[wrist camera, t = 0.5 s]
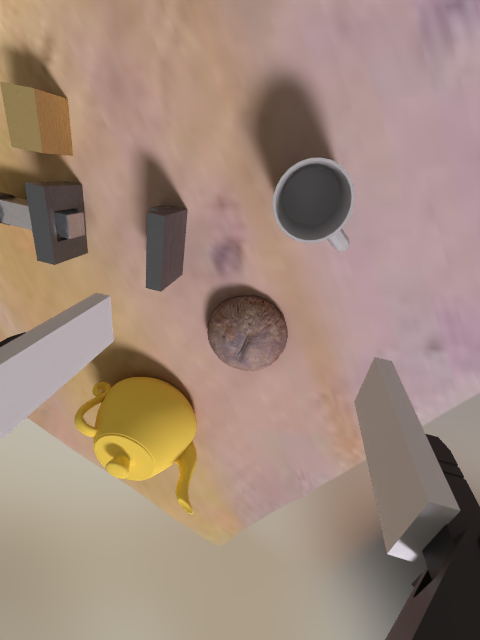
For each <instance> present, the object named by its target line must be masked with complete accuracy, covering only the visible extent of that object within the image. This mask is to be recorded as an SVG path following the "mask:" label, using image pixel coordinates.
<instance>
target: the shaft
mask: <svg viewBox="0 0 480 640" xmlns="http://www.w3.org/2000/svg"><path fill="white" fill-rule="evenodd" d="M54 218H55V225H56V233H57V236H60V237H64V238H68V239H72V238H75V237H79V236H83V235H85V226H84V214H83V212H79V211H75V210H70V209H65V210H58V211H54ZM0 223H3V224H7V225H13V226H17V227H22V228H26V229H30V230H32V225H31V219H30V213H29V208H28V202H27V200H26V199H22V198H16V197H15V196H13V195H10V194H5V193H1V192H0Z"/></svg>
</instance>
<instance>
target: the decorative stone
mask: <svg viewBox="0 0 480 640" xmlns="http://www.w3.org/2000/svg"><path fill="white" fill-rule="evenodd" d="M287 334H288V333H287V326H286V322H285V320H284V318H283V316H282V315H281V313H280V312H279V311H278V309H277V308H276V307H275V306H274V305H273V304H272V303H270V302H269V301H267V300H264V299H262V298H260V297H257V296H242V297H234V298H231V299H228V300H226V301H224V302H222V303H221V304H220V305H219V306H218V307H217V308H216V309H215V310H214V312H213V313H212V315H211V317H210V320H209V324H208V340H209V343H210V346H211V347H212V349H213V351H214V352H215V354H216V355H217V356H218V358H219V359H220V360H222V362H224V363H226V364H227V365H229V366H231V367H233V368H237V369H240V370H246V371H255V370H260V369H263V368H265V367H267V366H269V365H271V364H272V363H273V362H275V361H276V360H277V359H278V357H279V356H280V354H281V353H282V352H283V350H284V348H285V346H286V342H287V338H288V336H287Z"/></svg>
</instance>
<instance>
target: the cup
mask: <svg viewBox="0 0 480 640" xmlns="http://www.w3.org/2000/svg"><path fill="white" fill-rule="evenodd" d="M354 199H355V193H354V186H353V183H352V181H351V178H350V176H349V174H348V173H347V172H346V171H345V169H344V168H343V167H342V166H341V165H339V164H337V163H336V162H334V161H333V160H330V159H325V158H321V157H320V158H308V159H306V160H303V161H300V162H298V163H296V164H295V165H293V166H292V167H291V168H289V169H288V170H287V171H286V172H285V174H284V175H283V176H282V177H281V179H280V181H279V182H278V184H277V186H276V188H275V193H274V197H273V212H274V216H275V220H276V222H277V224H278V225H279V227H280V229H281V230H282V231H283V232H284V233H285V234H286V235H287V236H289V237H290V238H292V239H294V240H296V241H299V242H303V243H317V242H320V241H324V240H328V241H329V242H330V244H331V245H332V246H333V248H334V249H336V250H338V251H339V252H340V251H344V250H346V249H347V248H348V247H349V245H350V243H349V238H348V237H347V235H346V234H345V232H344V231H343V229H342V228H343V227H344V225H345V224H346V222H347V221H348V219H349V218H350V215H351V212H352V210H353V207H354Z"/></svg>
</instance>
